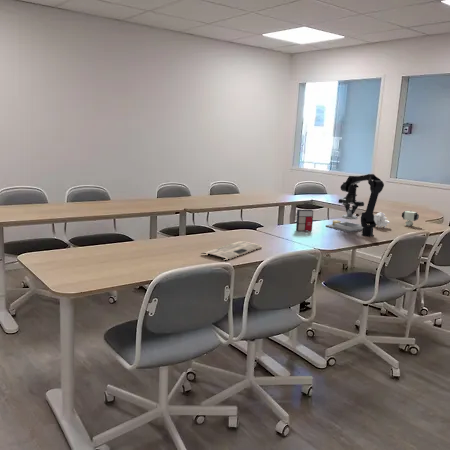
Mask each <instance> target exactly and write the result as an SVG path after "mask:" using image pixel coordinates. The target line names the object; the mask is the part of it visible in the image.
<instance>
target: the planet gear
mask: <svg viewBox="0 0 450 450" xmlns="http://www.w3.org/2000/svg"><path fill="white" fill-rule="evenodd" d="M341 218H343V219H344V220H357V219H358V216H357V215H355V214H353V215H352V208H349V209H348V211H347V212H346V214H342V215H341Z"/></svg>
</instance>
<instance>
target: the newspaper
mask: <svg viewBox="0 0 450 450" xmlns="http://www.w3.org/2000/svg"><path fill="white" fill-rule="evenodd" d="M260 248H261V249H262V248H263V246H262V245H260V244H257V243H254V242H253V243H252V242H249V241H243V240H240V241H236V242H232V243H230V244H226V245H223V246H220V247H217V248H213V249H211V250H208V251H204V252H201V253H200V255H201V254H206V253H208V254H210V255H213V256H217V257H221V258H222V259H224V258H225V259H226V260H228V259H230V260H232V259H231V258H233V259H235V258H234V257H236V258H238V257H237V256H239V255H242V254H244V255H246V254H245V253H247V254H249V253H248V252H250V253H252V252H251V251H253V250H255V251H257V250H256V249H258V250H261V249H260ZM253 252H254V251H253ZM242 256H243V255H242ZM239 257H240V256H239ZM228 261H229V260H228Z"/></svg>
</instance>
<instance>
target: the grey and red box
mask: <svg viewBox="0 0 450 450" xmlns="http://www.w3.org/2000/svg"><path fill="white" fill-rule="evenodd" d="M313 221H314V210H313V209H297V211H296V228H295V230H296V231H297V232H312V231H313Z"/></svg>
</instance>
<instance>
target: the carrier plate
mask: <svg viewBox="0 0 450 450" xmlns="http://www.w3.org/2000/svg"><path fill="white" fill-rule="evenodd" d="M325 227H326V228H330V229H334V230H339V231H343V232H347V233H355V232H359V231H362V229H363V227H362V226H361V223H354V222H351V221H343V222H342V221H340V220H332V224H326V225H325ZM354 231H355V232H354Z"/></svg>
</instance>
